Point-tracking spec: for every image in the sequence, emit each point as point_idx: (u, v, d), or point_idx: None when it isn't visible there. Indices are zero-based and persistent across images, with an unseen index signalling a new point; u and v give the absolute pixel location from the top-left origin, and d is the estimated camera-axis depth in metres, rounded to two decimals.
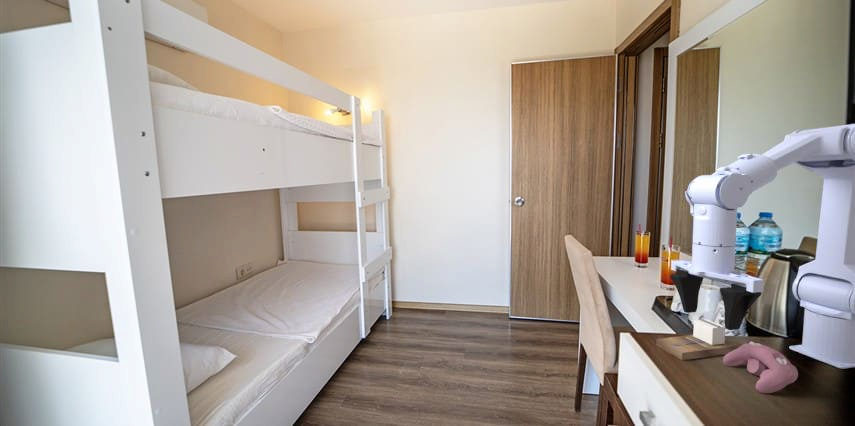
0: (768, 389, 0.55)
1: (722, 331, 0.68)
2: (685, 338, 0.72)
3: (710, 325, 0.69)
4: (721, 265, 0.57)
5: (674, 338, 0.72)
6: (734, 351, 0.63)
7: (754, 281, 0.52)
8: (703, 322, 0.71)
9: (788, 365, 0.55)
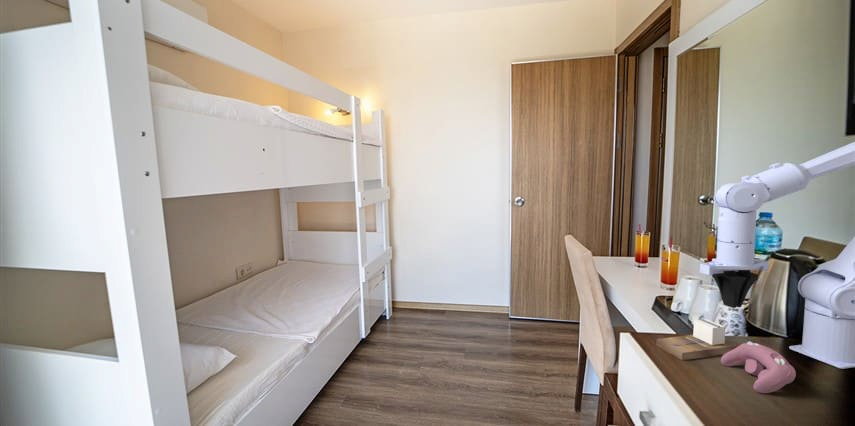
0: (765, 389, 0.55)
1: (722, 331, 0.68)
2: (685, 338, 0.72)
3: (710, 325, 0.69)
4: (718, 255, 0.71)
5: (674, 338, 0.72)
6: (732, 351, 0.63)
7: (701, 264, 0.70)
8: (703, 322, 0.71)
9: (786, 365, 0.55)
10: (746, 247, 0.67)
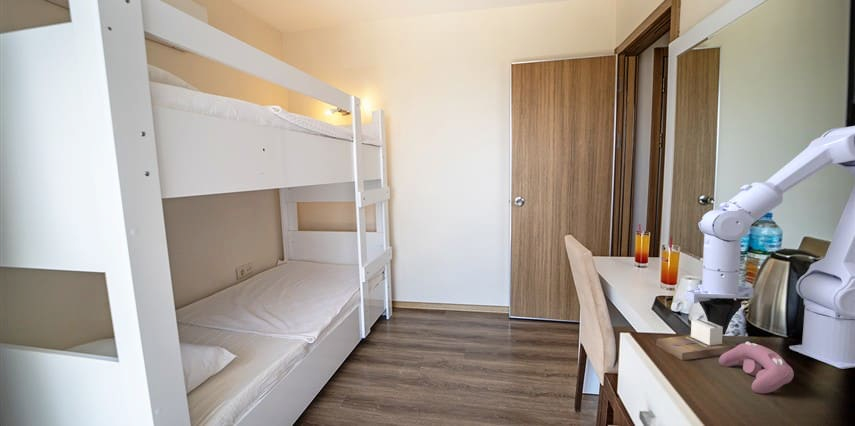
0: (764, 389, 0.55)
1: (720, 331, 0.68)
2: (685, 338, 0.72)
3: (707, 325, 0.69)
4: (703, 282, 0.71)
5: (674, 338, 0.72)
6: (730, 351, 0.63)
7: (686, 292, 0.69)
8: (700, 322, 0.70)
9: (784, 365, 0.55)
10: (730, 275, 0.67)
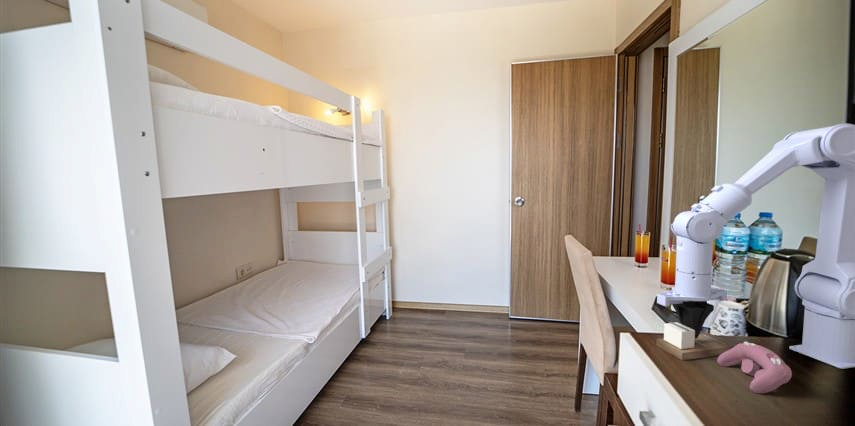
0: (762, 389, 0.55)
1: (692, 334, 0.67)
2: None
3: (680, 329, 0.68)
4: (676, 285, 0.69)
5: None
6: (728, 351, 0.63)
7: (658, 294, 0.68)
8: (673, 325, 0.69)
9: (782, 365, 0.55)
10: (702, 278, 0.66)
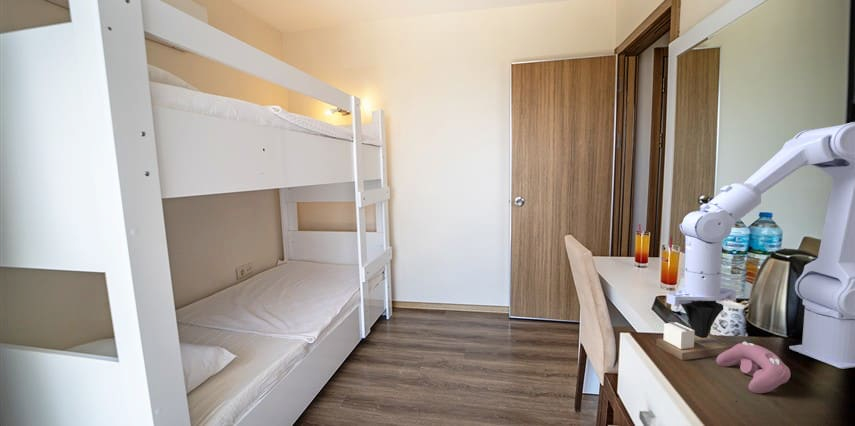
0: (761, 389, 0.55)
1: (691, 334, 0.67)
2: None
3: (679, 329, 0.68)
4: (685, 284, 0.70)
5: None
6: (727, 351, 0.63)
7: (667, 294, 0.69)
8: (673, 325, 0.69)
9: (781, 365, 0.55)
10: (712, 278, 0.66)
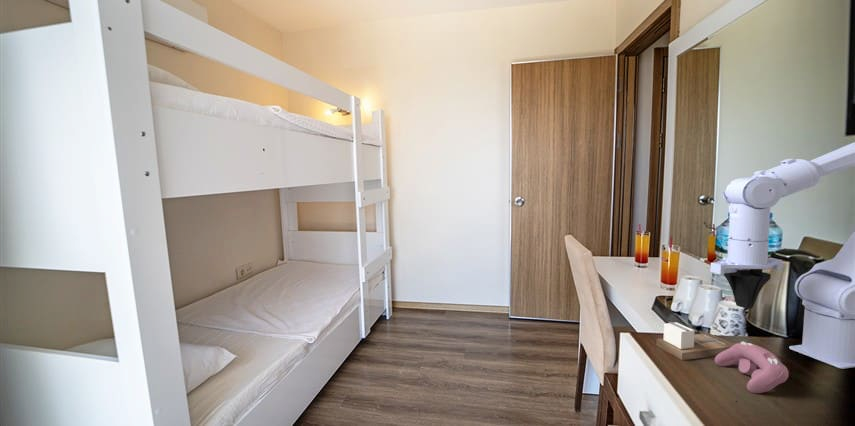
0: (759, 389, 0.55)
1: (691, 334, 0.67)
2: None
3: (679, 329, 0.68)
4: (729, 254, 0.67)
5: None
6: (725, 351, 0.63)
7: (711, 263, 0.66)
8: (673, 325, 0.69)
9: (779, 365, 0.55)
10: (759, 245, 0.64)
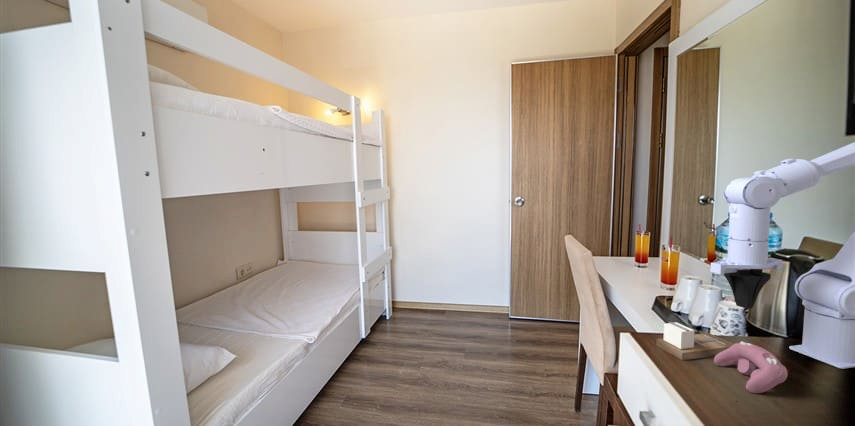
0: (758, 389, 0.55)
1: (691, 334, 0.67)
2: None
3: (679, 329, 0.68)
4: (729, 254, 0.67)
5: None
6: (724, 351, 0.63)
7: (711, 263, 0.66)
8: (673, 325, 0.69)
9: (778, 365, 0.55)
10: (759, 245, 0.64)
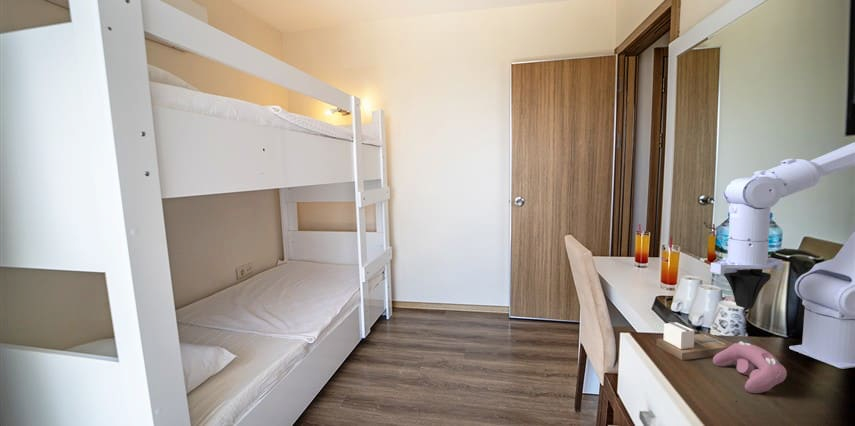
0: (757, 389, 0.55)
1: (691, 334, 0.67)
2: None
3: (679, 329, 0.68)
4: (729, 254, 0.67)
5: None
6: (723, 351, 0.63)
7: (711, 263, 0.66)
8: (673, 325, 0.69)
9: (777, 365, 0.55)
10: (759, 245, 0.64)
